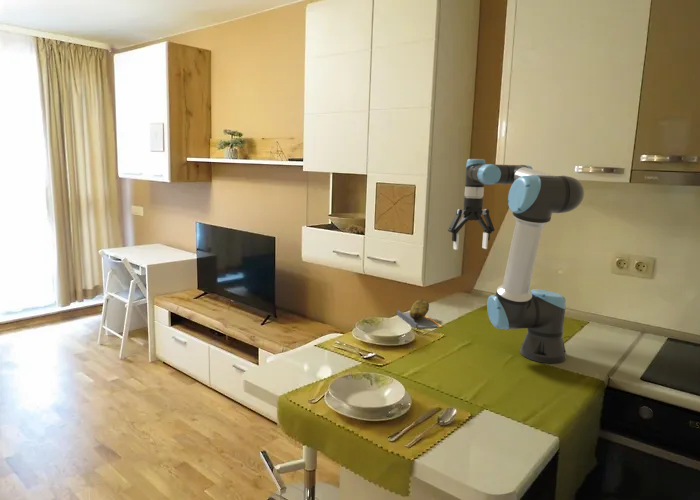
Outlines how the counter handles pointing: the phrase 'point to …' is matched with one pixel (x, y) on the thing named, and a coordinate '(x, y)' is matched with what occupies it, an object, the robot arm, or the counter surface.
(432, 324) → the mat
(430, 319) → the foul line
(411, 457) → the counter surface
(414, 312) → the potato
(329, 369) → the counter surface
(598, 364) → the counter surface
